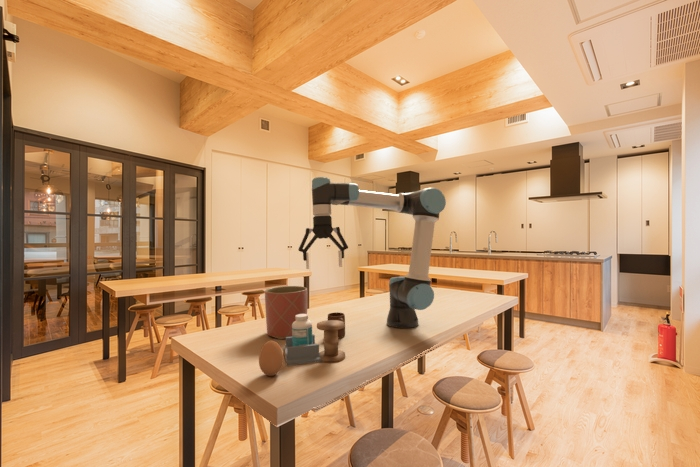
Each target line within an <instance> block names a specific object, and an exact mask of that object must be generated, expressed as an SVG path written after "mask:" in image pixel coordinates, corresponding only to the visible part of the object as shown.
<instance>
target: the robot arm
mask: <svg viewBox="0 0 700 467" xmlns="http://www.w3.org/2000/svg"><path fill="white" fill-rule="evenodd" d="M311 198H312V201H311V202H312V214H313V217H312V221H313V222H312V224H313V227H312V228H309V227H306V228H305V234H304V235H303V238H302V240H301V242H300V244H299V246H298V252H300V253H302V260H303V261H304V262H305V268H306V270H309V269H310V260H309V258H310V254H309V252H308V251H309V249H310V248H311V247H312V245H313V244H314V243H315V241H316V240H317V239H329V240H331V241H332V243H333V244H334V245H336V247H337V248H338V249H339V250H338V252H337V253H338V267H339V268H340V267H341V268H342V267H343V259H344V258H345V250H347V249H349V246H348V244H347V243H346V242H347V241H346V240H345V239H344V236H343V234H342V233H341V229H340V226H336V227H333V226H332V225H333V222H332V221H333V220H332V219H333V218H332V216H331V215H332V206H339V205H341V206H351V207H352V206H353V207H362V208H371V209H372V208H373V209H380V210H381V209H382V210H390V211H395V212H396V213H398V214H405V215H411V216H412V219H414V220H415V221H414V230H413V239H412V245H411V252H410V260H409V268H408V273H407V274H405V275H404V276H395V277H394V276H393V277H391V278H390V279H389V283H388V288H389V310H388V314H387V317H386V325H387V326H389V327H391V328H396V329H410V328H411V329H412V328H414V327H415V328H416V327H418V325H419V318H418V316H417V310H418V311H423V310H426V309H427V308H428V307H430V306H431V305H432V304H433V302H434V299H435V292H434V290H433V288H432V286H431V285H432V280H431V278H430V277H429V272H430V265H431V264H430V262H431V256H432V255H431V254H432V247H433V241H434V240H433V238H434V233H435V232H434V231H435V225H436V223H437V222H438V221H439V219H440V213H441V212H443V211H444V210H445V207H446V202H447V201H446V196H445V195H444V194H443V192H442V191H441V190H440V189H439V188H436V187H426V188H423V189H420V190H416V191H412V192H405V193H404V192H398V193H397V194H394V193H387V192H378V191H377V192H376V191H370V190H369V191H368V190H360V188H359V185H358V184H357V183H353V182H352V183H351V182H337V183H336V182H331V179H330V178H329V177H325V176H318V177H314V178H313V179H312V180H311ZM333 232H334V233H335V234H336V235H337V237H338V239H339V241H340V242H339V241H338V239H336V238H335V237H334V234H333V235H332V233H333ZM312 233H313V234H314V235H313V237H312V238H311V240H310V241H309V242H308V243H307V245H306V242H307V240H308V238H309V235H310V234H312ZM305 245H306V246H305Z"/></svg>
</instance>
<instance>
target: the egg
mask: <svg viewBox="0 0 700 467" xmlns="http://www.w3.org/2000/svg"><path fill="white" fill-rule="evenodd" d="M258 365H259V369H260V370H261V372H262V373H263V375H265V376H267V377H268V376H269V377H274V376H276V375H277V374H278V373H280V370H282V367H283V365H284V353H283V349H282V347H281V346H280V344H279V343H278V342H277V341H275V340H268V341H267V342H265V343H264V345H262V347H261V349H260V352H259V354H258Z"/></svg>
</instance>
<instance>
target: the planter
mask: <svg viewBox="0 0 700 467" xmlns="http://www.w3.org/2000/svg"><path fill="white" fill-rule="evenodd" d="M264 302H265V303H264V306H265V307H264V308H265V319H266V321H265V322H266V324H265V325H266V333H267V335H268V336H269V337H273V338H276V339H278V340H282V341H283V340H286V337H292V324H293V322H294V321H296V319H295V316H296V315H298V314H308V287H305V286H300V285H288V286H287V285H286V286H285V285H284V286H277V287H276V286H275V287H270V288H266V289H265V290H264Z"/></svg>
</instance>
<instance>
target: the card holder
mask: <svg viewBox="0 0 700 467" xmlns="http://www.w3.org/2000/svg"><path fill="white" fill-rule="evenodd" d="M315 336H316V335H315V333H312V339H313V344H310V345H301V346H293V342H292V336H290V337H286V338H285V344H284V353H285V361H286V367H287V366H289V367H290V366H297V365H305V364H313V363H321V362H322V359H321V356H320V355H319V354H320V353H319V352H320V344H319V343H316V340H315ZM318 356H319V357H318ZM322 363H323V362H322Z"/></svg>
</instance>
